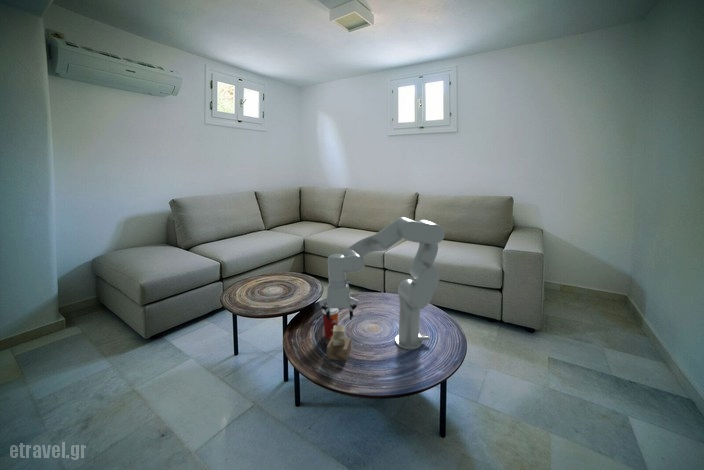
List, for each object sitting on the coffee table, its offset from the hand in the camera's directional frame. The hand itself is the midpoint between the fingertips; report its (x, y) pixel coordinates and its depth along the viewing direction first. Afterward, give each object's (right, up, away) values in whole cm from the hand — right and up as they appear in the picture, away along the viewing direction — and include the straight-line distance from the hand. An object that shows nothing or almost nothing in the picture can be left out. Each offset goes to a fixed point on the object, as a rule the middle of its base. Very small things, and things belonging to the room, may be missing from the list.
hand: (339, 318), depth 134 cm
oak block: (0, -11, +3) cm, 12 cm away
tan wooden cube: (0, -17, +4) cm, 18 cm away
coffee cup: (-5, -14, +19) cm, 24 cm away
